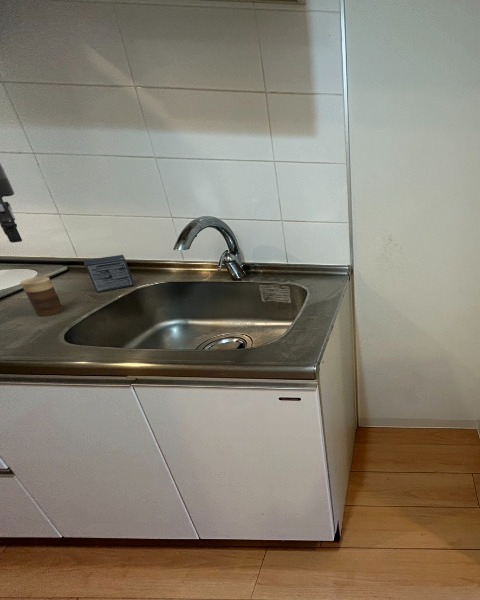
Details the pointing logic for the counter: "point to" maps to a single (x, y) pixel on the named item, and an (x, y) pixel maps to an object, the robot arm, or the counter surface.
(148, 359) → the counter surface
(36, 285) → the beige short cylinder
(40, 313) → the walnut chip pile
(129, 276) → the small box
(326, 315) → the counter surface
